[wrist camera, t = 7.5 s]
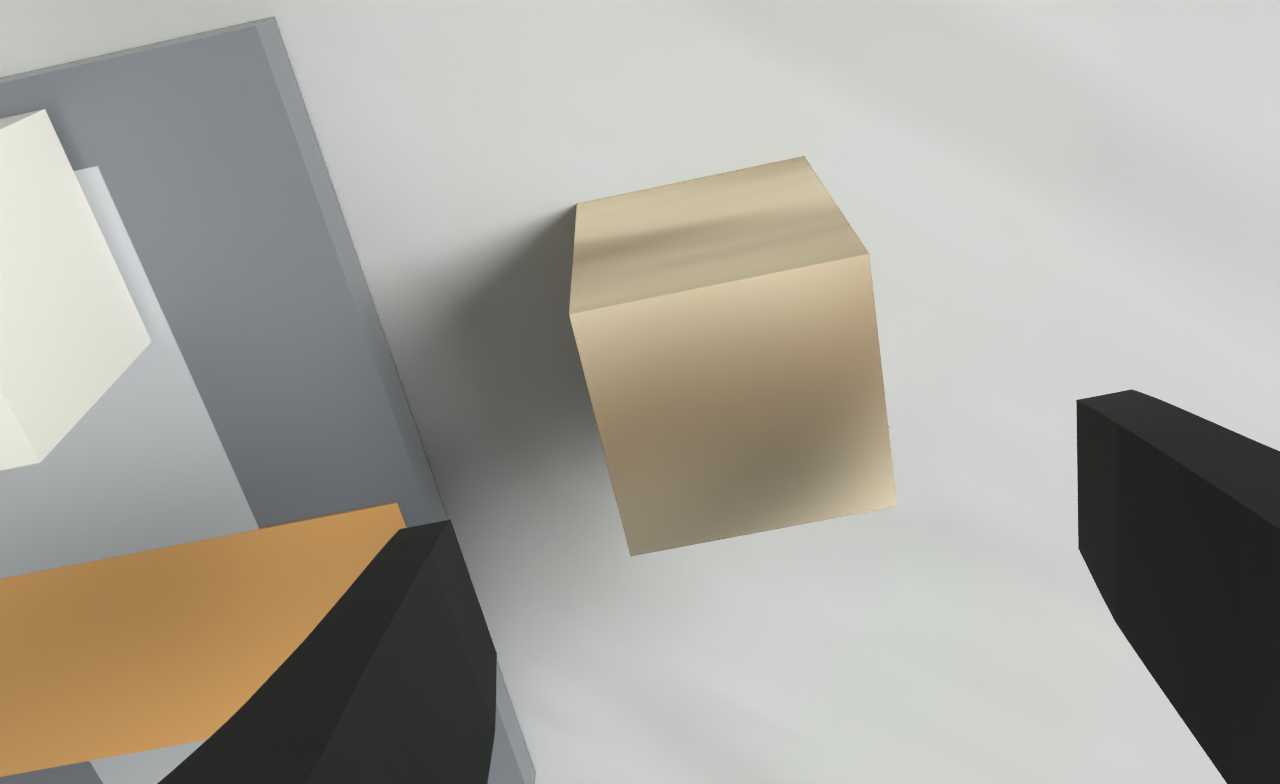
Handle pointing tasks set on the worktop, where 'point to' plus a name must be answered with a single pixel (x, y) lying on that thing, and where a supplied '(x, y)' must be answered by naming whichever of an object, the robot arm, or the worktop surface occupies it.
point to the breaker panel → (202, 423)
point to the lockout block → (731, 356)
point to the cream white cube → (53, 296)
